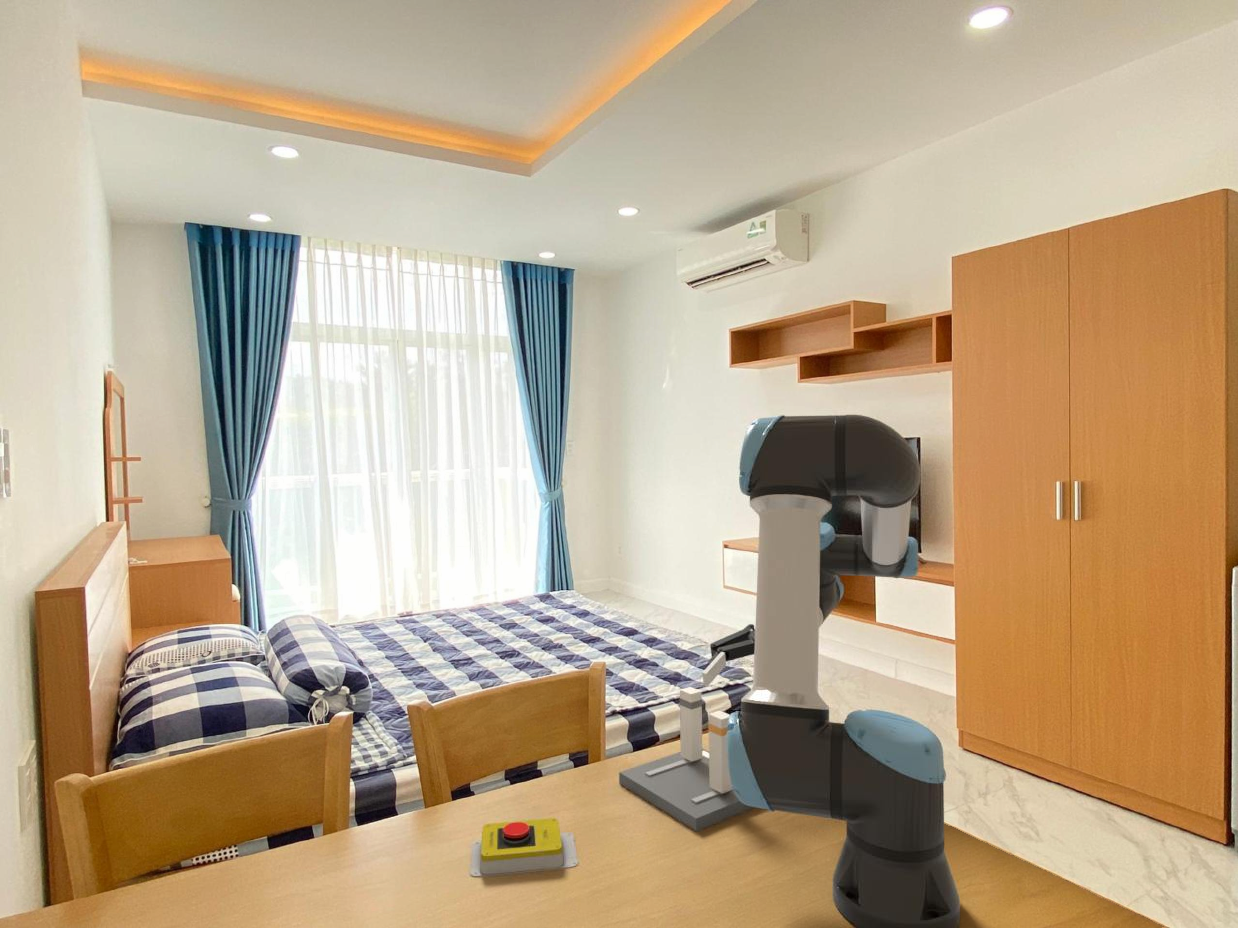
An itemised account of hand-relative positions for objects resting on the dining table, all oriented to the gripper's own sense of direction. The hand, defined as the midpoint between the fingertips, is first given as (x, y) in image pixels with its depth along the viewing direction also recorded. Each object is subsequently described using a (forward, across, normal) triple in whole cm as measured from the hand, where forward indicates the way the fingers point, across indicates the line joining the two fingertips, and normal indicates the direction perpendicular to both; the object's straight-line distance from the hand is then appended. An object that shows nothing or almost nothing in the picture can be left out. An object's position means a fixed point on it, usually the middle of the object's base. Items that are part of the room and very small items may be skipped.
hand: (740, 691), depth 125 cm
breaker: (+3, +9, -16) cm, 19 cm away
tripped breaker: (+10, -1, -12) cm, 15 cm away
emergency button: (+39, +14, -7) cm, 42 cm away
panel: (+9, +5, -16) cm, 19 cm away
